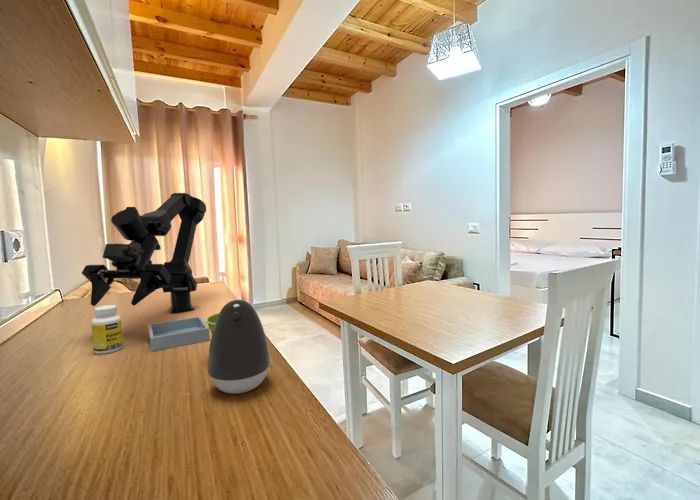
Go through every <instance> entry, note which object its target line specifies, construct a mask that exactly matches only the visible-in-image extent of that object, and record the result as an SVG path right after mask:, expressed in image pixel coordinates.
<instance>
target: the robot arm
mask: <svg viewBox="0 0 700 500" xmlns="http://www.w3.org/2000/svg"><path fill="white" fill-rule="evenodd" d="M206 205H207V204H206V203H205V202H204V201H202V200H201V199H200V198H197V197H195V196H192V195H190V194H189V193H187V192H174V193H171V194H170V196H169V198H168V199H166V200H165V201H164V202H163V203H162V204H161V205H160V206H159V207H158V208H156V210H154V211H150V212H146V213H144V214H142V215H141V214H140V213H139V210H138V209H137V208H136V207H135V206H126V208H125V209H122V210H120V211H118V212H116V213H115V214H114V215H112V216H111V219H110V221H111V223H112V225H113V226H114V228H115V229H116V230H117V231H118V233H119V234H120V235H121V236H122V238H123V239H125V241H129V243H126V244H124V243H106V244H105V246H104V249H103V254H102V258H103V259H107V260H109V261H111V263H110V264H111V266H113V267H114V268H115V269H109V268H108V267H107V266H106V265H105V264H88V265H85V266H84V268H83V269H82V271H81V274H82V275H83V276H84V277H85V279H86V280H87V281H89V282H90V283H91V294H90V296H91V297H90V306H92V307H95V306H96V305H98V303H99V302H100V301H101V300H102V299H103V298H104V297H105V295H106V294H107V293H108V292H109V290H110V289H111V288H112V287H111V286H110V285H112V284H113V283H114V282H115V279H127V280H139V284H138V286H137V288H136V290H135V292H134V295H133V296H132V299H131V303H130V304H131V305H132V306H133V307H134V306H136V305H138V303H140V302H141V301H143V300H144V299H145V298H146V297H148V296H149V295H150V294H153V293H154V292H155V291H157V290H158V289H161V288H162V289H161V290H162V292H163V293H165V294H166V293H170V307H169V308H168V309H169V312H170V313H171V314H175V313H181V312H189V311H194V310H195V308H194V307H193V305H192V295H191V292H195V291H196V290H197V287H198V282H197V280H196V279H195V278H194V276H193V270H192V268H191V266H190V263H189V262H190V258H191V257H190V256H191V254H192V249H193V243H194V239H195V234H196V230H197V226H198V224H200V222H202V221H203V220H204V216H205V213H206V212H207V206H206ZM177 216H178V217H179V219H180V225H179V229H178V234H177V238H176V242H175V246H174V250H173V254H172V259H170V261H165V262H164V263H153V261H152V260H151V259H152V256H153V255H154V252H155V251H161V244H160V242H159V240H158V238H157V237H165V236H167V235H168V234H169V231H170V230H171V228H172V224H171V222H172V221H173V219H174V218H176V217H177Z"/></svg>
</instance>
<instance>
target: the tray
mask: <svg viewBox="0 0 700 500" xmlns="http://www.w3.org/2000/svg"><path fill="white" fill-rule="evenodd" d="M147 327H148V339H149V344H150V350H151V352H157V351H161V350H167V349H172V348H178V347H182V346H187V345H192V344H193V345H194V344H197V343H203V342H207V341H211V338H210V329H209V326H208V324H207V323H206V321H204V320H203V318H202V317H201V316H194V317H189V318H188V317H187V318H181V319H175V320H169V321H163V322H161V321H160V322H157V323H156V322H155V323H151V324H148V325H147Z"/></svg>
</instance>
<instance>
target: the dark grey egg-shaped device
mask: <svg viewBox="0 0 700 500" xmlns="http://www.w3.org/2000/svg"><path fill="white" fill-rule="evenodd" d="M218 313H219V315H218V317H217V320H216V323H215V326H214V329H213V333H212V335H211V338H210V342H209V347H208V348H209V349H208V354H207V356H208V357H207V375H209V376H210V379H211V381H212V383H213V385H214V386H215V387H216V388H217V389H218V390H220V391H221V392H224V393H226V394H233V395H234V394H235V395H236V394H244V393H247V392H249V391H252V390H254V389H256V388H257V387H258V386H260V385H261V383H262V382H263V381H264V379H265V378H266V375H267V374H268V370H269V367H270V365H271V356H270V355H271V354H270V349H269V345H268V340H267V337H266V332H265V330H264V326H263V324H262V321H261V319H260V317H259V314H258V313H257V311H256V309H255V308H254V307H253V305H252V304H251V303H250V302H249V301H246V300H243V299H234V300H233V299H232V300H231V301H229V302H227V303H226V304H224V306H223V307H222V308H221V310H220V312H218Z"/></svg>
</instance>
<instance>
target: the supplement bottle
mask: <svg viewBox="0 0 700 500" xmlns="http://www.w3.org/2000/svg"><path fill="white" fill-rule="evenodd" d="M117 307H118V306H117V305H115V304H108V305H107V304H106V305H101V306H97V307H95V308H94V315H95V316H96V317H94V318H92V320H91V322H90V323H91V334H92V335H91V337H92V339H91V340H92V351H93V353H94V354H98V355H100V354H101V355H102V354H103V355H105V354H110V353H114V352H116V351H120V350H121V349H122V348H123V344H124V343H123V341H124V339H123V331H122V330H123V329H122V328H123V327H122V326H123V325H122V317H121V315H119V314H117V313H118V308H117Z"/></svg>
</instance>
